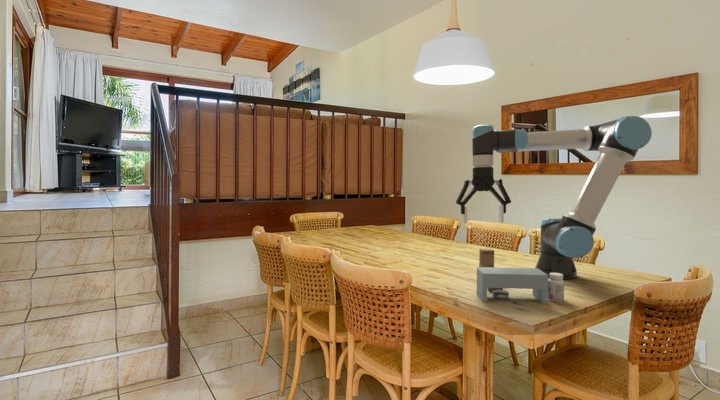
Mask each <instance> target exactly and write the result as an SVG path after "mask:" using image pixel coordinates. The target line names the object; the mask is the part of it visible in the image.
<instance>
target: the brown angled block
mask: <svg viewBox="0 0 720 400" xmlns="http://www.w3.org/2000/svg"><path fill="white" fill-rule="evenodd" d="M478 254H479V256H478V257H479V258H478V259H479V263H478V264H479V266H478V267H493V268H495V250H494V249H492V248H482V247H481V248H479V253H478ZM493 290H504V288H487V292H493Z"/></svg>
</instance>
